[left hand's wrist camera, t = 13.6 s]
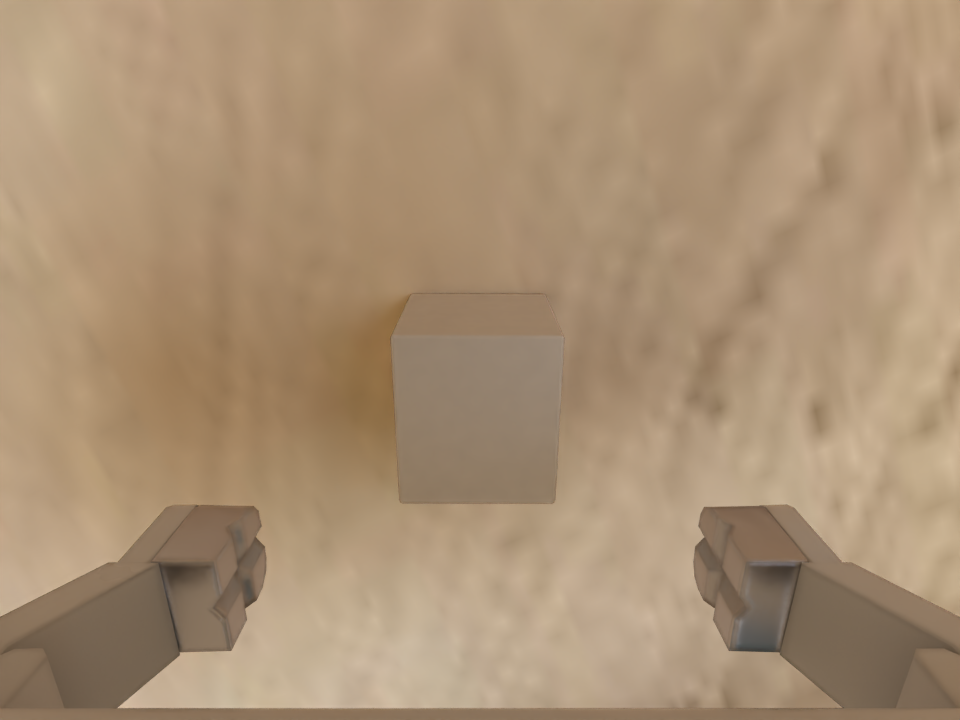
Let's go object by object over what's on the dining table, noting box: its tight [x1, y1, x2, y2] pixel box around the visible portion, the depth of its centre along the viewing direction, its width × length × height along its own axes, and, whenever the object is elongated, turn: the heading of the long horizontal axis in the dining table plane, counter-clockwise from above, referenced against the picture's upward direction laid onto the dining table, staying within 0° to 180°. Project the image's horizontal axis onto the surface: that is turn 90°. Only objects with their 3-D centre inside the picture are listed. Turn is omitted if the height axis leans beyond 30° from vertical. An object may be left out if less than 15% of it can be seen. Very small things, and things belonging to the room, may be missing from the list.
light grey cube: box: [390, 294, 565, 504], centre depth 16 cm, size 4×4×4 cm
